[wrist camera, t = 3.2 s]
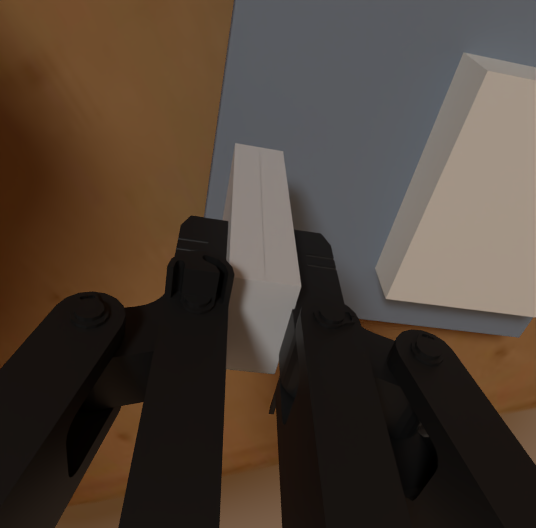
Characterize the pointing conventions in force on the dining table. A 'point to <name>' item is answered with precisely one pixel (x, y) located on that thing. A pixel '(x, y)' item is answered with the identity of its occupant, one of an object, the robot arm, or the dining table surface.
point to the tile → (472, 198)
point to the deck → (357, 119)
